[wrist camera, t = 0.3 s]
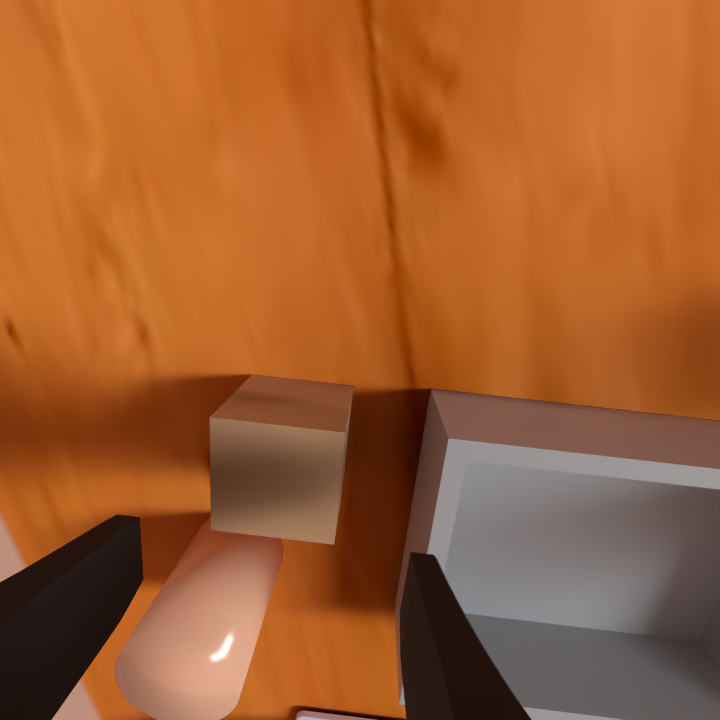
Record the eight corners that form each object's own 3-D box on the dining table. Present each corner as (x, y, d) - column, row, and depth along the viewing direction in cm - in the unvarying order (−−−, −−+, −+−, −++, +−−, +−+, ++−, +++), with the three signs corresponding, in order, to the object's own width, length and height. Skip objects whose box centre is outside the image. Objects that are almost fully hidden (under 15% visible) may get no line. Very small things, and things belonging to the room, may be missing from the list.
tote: (699, 643, 22) (788, 752, 17) (394, 606, 22) (399, 704, 18) (800, 430, 18) (950, 495, 13) (430, 388, 19) (448, 438, 14)
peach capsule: (281, 588, 22) (239, 733, 16) (196, 577, 23) (119, 717, 16) (285, 516, 21) (241, 642, 14) (194, 505, 21) (109, 625, 14)
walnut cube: (344, 474, 20) (334, 544, 15) (250, 463, 20) (211, 530, 16) (353, 385, 19) (345, 432, 14) (252, 374, 19) (209, 417, 14)
